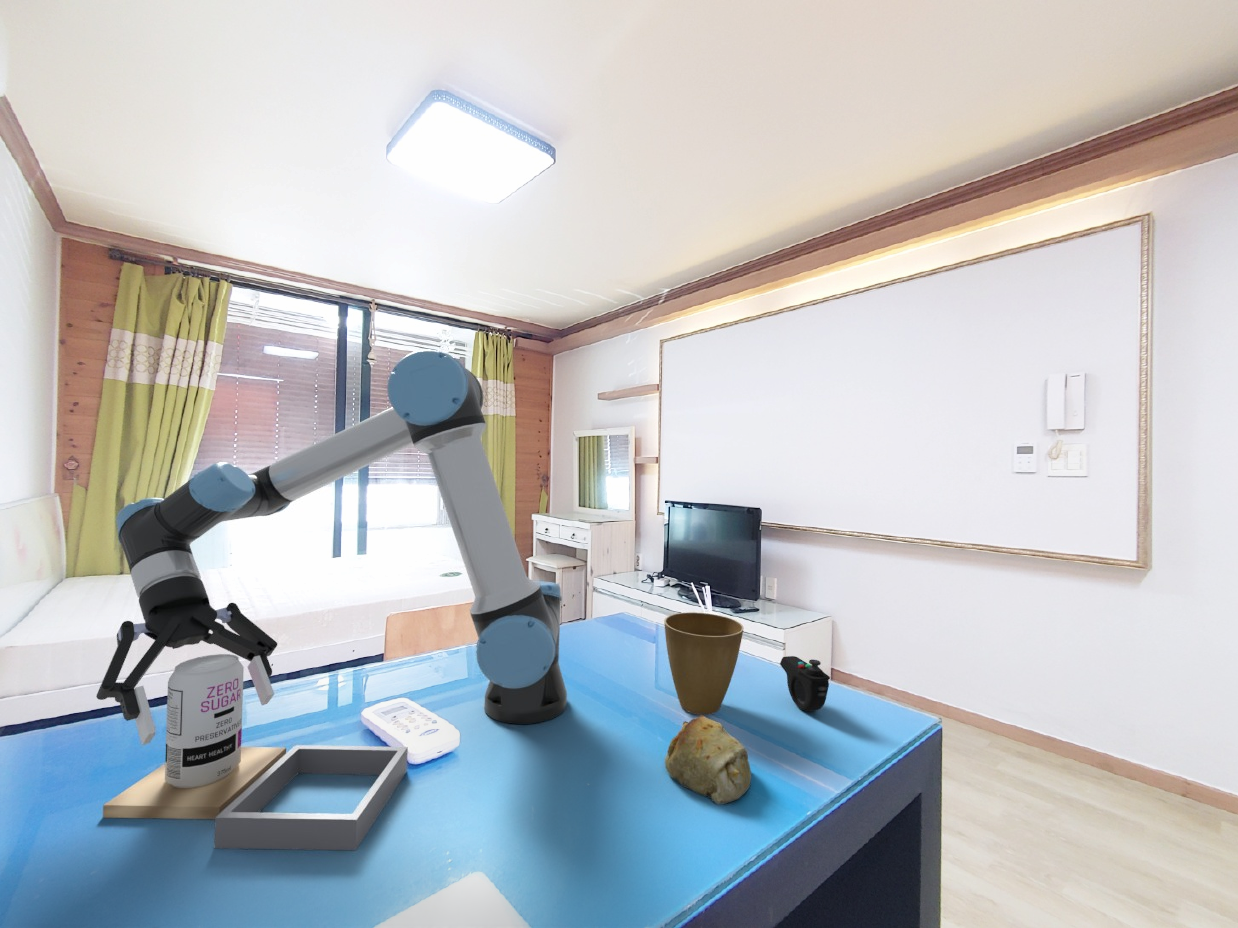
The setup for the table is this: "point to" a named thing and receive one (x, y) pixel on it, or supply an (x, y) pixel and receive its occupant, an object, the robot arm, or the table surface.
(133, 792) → the pad
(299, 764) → the bin
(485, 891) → the table surface
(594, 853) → the table surface
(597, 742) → the table surface
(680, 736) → the pastry
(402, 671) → the table surface
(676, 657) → the plant pot
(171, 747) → the supplement can
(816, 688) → the controller
